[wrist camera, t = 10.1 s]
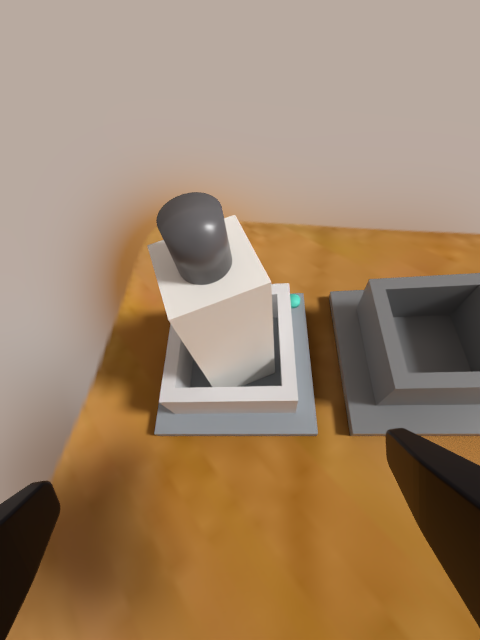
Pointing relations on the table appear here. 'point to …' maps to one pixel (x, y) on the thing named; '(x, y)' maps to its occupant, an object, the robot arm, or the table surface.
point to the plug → (214, 290)
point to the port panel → (244, 386)
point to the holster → (410, 355)
